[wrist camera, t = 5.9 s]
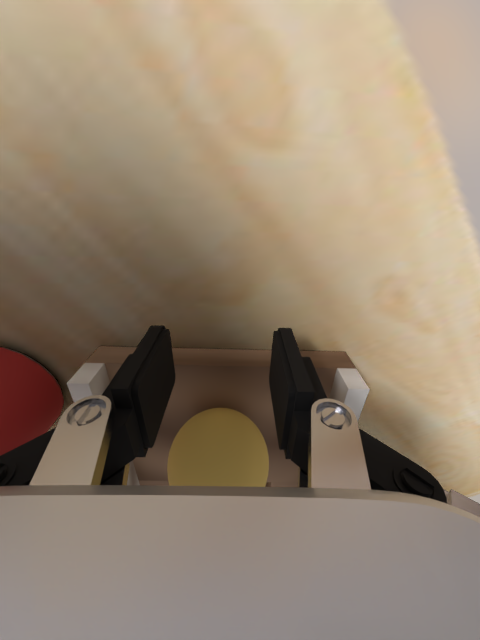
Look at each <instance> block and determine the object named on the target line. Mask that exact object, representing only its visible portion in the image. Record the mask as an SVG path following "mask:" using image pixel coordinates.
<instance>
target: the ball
mask: <svg viewBox="0 0 480 640" xmlns="http://www.w3.org/2000/svg"><path fill="white" fill-rule="evenodd" d="M268 471H269V456H268V450H267V446H266V443H265V440H264V438H263V436H262V434H261V432H260V430H259V429H258V427H257V426H256V425H255V424H254V422H253V421H251V420H250V419H249V418H248V417H247V416H245V415H244V414H242V413H240V412H238V411H236V410H233V409H229V408H212V409H208V410H205V411H202V412H200V413H198V414H196V415H195V416H193V417H192V418H191V419H189V420H188V421H187V422H186V423H185V424H184V425H183V426H182V428H181V429H180V430H179V432H178V433H177V435H176V437H175V439H174V441H173V443H172V445H171V448H170V451H169V456H168V463H167V473H168V482H169V486H239V487H265V485H266V482H267V478H268Z"/></svg>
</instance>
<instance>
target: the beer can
mask: <svg viewBox="0 0 480 640" xmlns="http://www.w3.org/2000/svg"><path fill="white" fill-rule="evenodd" d="M63 403H64V400H63V395H62V391H61V387H60V385H59V384H58V382H57V381H56V379H55V378H54V376H53V375H52V374H51V373H50V372H49V371H48V370H47V369H46V368H44V367H43V366H42V365H41V364H40V363H38V362H36V361H35V360H33V359H31V358H30V357H28V356H26V355H25V354H22V353H19V352H16V351H14V350H11V349H8V348H5V347H0V456H1V455H3V454H5V453H7V452H9V451H11V450H13V449H15V448H17V447H19V446H21V445H23V444H25V443H27V442H29V441H31V440H32V439H34V438H36V437H38V436H40V435H42V434H44V433H46V432H47V431H48V430H49V429H50V427H51V426H52V425H53V424H54V422H55V421H56V420H57V418H58V417H59V416H60V415H61V411H62V407H63Z"/></svg>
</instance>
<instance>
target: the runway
mask: <svg viewBox="0 0 480 640" xmlns="http://www.w3.org/2000/svg"><path fill="white" fill-rule="evenodd" d="M136 348H137V347H114V346H99V347H98V348H97V349H96V351H95V352H94V353H93V354H92V355H91V356H90V357H89V358H88V360H87V361H86V362H85V363H84V364H83V365H82V366H81V367H80V369H79V370H78V371H77V372H76V373H75V374H74V375H73V376H72V378H71V379H70V380H69V381H68V382H67V383H66V384H67V386H68V388H69V391H70V393H71V396H72V398H73V401H74V403H75V402H76V401H78V400H80V399H82V398H84V397H88V396H92V395H102V394H103V392H104V391H105V389H106V388H107V386H108V385H109V383H110V382H111V380H112V379H113V377H114V376H115V374H116V373H117V371H118V370H119V368H120V367H121V365H122V364H123V362H124V361H125V359H126V358H127V357H128V355H129V354H133V353H134V351H135V350H136ZM172 353H173V360H174V368H175V384H174V387H173V390H172V393H171V395H170V398H169V401H168V404H167V407H166V410H165V413H164V416H163V419H162V422H161V425H160V428H159V431H158V434H157V437H156V440H155V443H154V446H153V447H152V448H148V451H147V454H146V457H136V458H135V459H134V460H132V461H131V462H130V463H129V464H130V466H129V474H128V481H127V485H149V486H169V482H168V473H167V463H168V456H169V451H170V448H171V445H172V443H173V441H174V439H175V437H176V435H177V433H178V432H179V430H180V429H181V428H182V426H183V425H184V424H185V423H186V422H187V421H188V420H189V419H191V418H192V417H193V416H195V415H196V414H198V413H200V412H202V411H205V410H208V409H212V408H229V409H233V410H236V411H238V412H240V413H242V414H244V415H245V416H247V417H248V418H249V419H250V420H251V421H253V422H254V424H255V425H256V426H257V427H258V429H259V430H260V432H261V434H262V436H263V438H264V440H265V443H266V446H267V450H268V456H269V471H268V478H267V482H266V486H265V487H297V485H298V466H297V465H296V464H295V463H294V462H292V461H291V459H285V453H284V450H280V449H279V445H278V439H277V432H276V425H275V419H274V412H273V406H272V399H271V392H270V386H269V373H270V363H271V353H272V350H246V349H202V348H172ZM300 353H301V356H302V357H310V358H311V360H312V363H313V365H314V367H315V370H316V372H317V374H318V377H319V379H320V382H321V384H322V386H323V389H324V391H325V393H326V396H327V398H328V399H334V400H337V401H340V402H342V403H344V404H345V405H347V406H348V407H349V408H350V409H351V410H352V411H353V412H354V414H355V416H356V418H357V422H358V419H359V417H360V414H361V411H362V409H363V406H364V403H365V401H366V398H367V395H368V393H369V390H370V389H369V388H368V386H367V384H366V383H365V381H364V380H363V378H362V377H361V375H360V374H359V372H358V371H357V369H356V368H355V366H354V365H353V363H352V361H351V360H350V358H349V357H348V355H347V354H346V352H334V351H300Z"/></svg>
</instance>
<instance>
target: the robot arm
mask: <svg viewBox="0 0 480 640" xmlns="http://www.w3.org/2000/svg"><path fill="white" fill-rule="evenodd" d="M174 384H175V368H174V360H173V353H172V345H171V337H170V331H169V329H166V328H165V326H151V327H150V328H149V330H148V331H147V333H146V334H145V336H144V337H143V339H142V340H141V342H140V343H139V345H138V346H137V348H136V350H135V351H134V353H133V354H129V355H128V357H127V358H126V359H125V361H124V362H123V364H122V365H121V367H120V368H119V370H118V371H117V373H116V374H115V376H114V377H113V379H112V380H111V382H110V383H109V385H108V386H107V388H106V389H105V391H104V392H103V394H102V395H92V396H88V397H84V398H82V399H80V400H78V401H76V402H75V403H73V404H71V405H70V406H69V407H68V408H67V409H66V410H65V411H64V413H63V414H62V416H61V418H60V420H59V423H58V425H57V427H56V428H54V429H52V430H50V431H48V432H46V433H44V434H42V435H40V436H38V437H36V438H34V439H32V440H31V441H29V442H27V443H25V444H23V445H21V446H19V447H17V448H15V449H13V450H11V451H9V452H7V453H5V454H3V455H1V456H0V640H480V504H479V503H477V502H475V501H473V500H471V499H469V498H467V497H466V496H464V495H462V494H460V493H458V492H456V491H454V490H452V489H451V490H450V492H447V491H446V490H444V489H443V488H442V487H441V485H440V484H439V482H438V481H437V480H436V479H435V478H434V477H433V476H432V475H431V474H430V473H429V472H428V471H426V470H425V469H424V468H422V467H421V466H419V465H418V464H416V463H414V462H413V461H411V460H409V459H408V458H406V457H405V456H403V455H401V454H400V453H398V452H396V451H395V450H393V449H392V448H390V447H388V446H387V445H385V444H383V443H382V442H380V441H379V440H377V439H375V438H374V437H372V436H370V435H369V434H367V433H366V432H364V431H362V430H361V429H359V427H358V422H357V418H356V416H355V414H354V412H353V411H352V410H351V409H350V408H349V407H348V406H347V405H345V404H344V403H342V402H340V401H337V400H334V399H328V398H327V396H326V393H325V391H324V389H323V386H322V384H321V382H320V379H319V377H318V374H317V372H316V370H315V367H314V365H313V363H312V360H311V358H310V357H302V356H301V353H300V351H299V348H298V345H297V343H296V340H295V337H294V335H293V332H292V329H291V328H278V331H274V333H273V343H272V353H271V363H270V373H269V386H270V392H271V399H272V406H273V412H274V419H275V425H276V432H277V439H278V445H279V449H280V450H284V453H285V459H291V461H292V462H294V463H295V464H296V465H297V466H298V485H297V487H239V486H149V485H127V481H128V474H129V466H130V464H129V463H130V462H131V461H132V460H134V459H135V458H136V457H146V454H147V451H148V448H152V447H153V446H154V443H155V440H156V437H157V434H158V431H159V428H160V425H161V422H162V419H163V416H164V413H165V410H166V407H167V404H168V401H169V398H170V395H171V393H172V390H173V387H174Z"/></svg>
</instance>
